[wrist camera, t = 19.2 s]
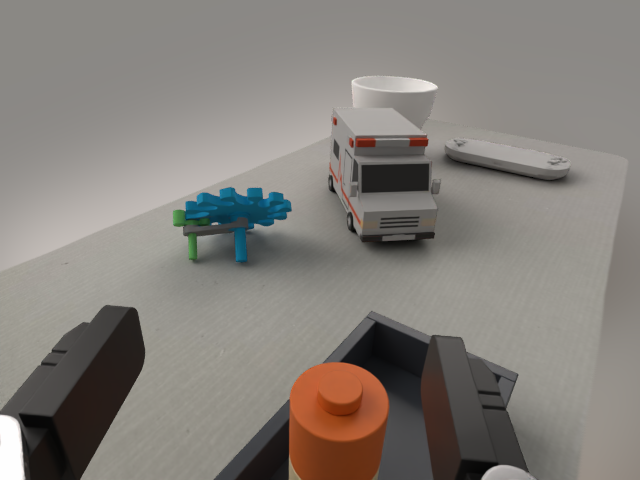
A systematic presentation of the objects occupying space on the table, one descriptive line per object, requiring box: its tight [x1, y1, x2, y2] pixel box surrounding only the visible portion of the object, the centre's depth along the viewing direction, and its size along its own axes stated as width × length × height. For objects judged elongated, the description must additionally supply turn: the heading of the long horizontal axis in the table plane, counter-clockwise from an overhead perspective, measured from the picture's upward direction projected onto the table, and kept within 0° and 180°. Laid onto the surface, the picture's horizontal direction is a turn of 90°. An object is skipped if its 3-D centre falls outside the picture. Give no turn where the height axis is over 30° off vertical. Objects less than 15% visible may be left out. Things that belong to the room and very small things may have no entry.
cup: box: [352, 76, 438, 130], centre depth 67 cm, size 12×12×11 cm
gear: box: [173, 187, 292, 262], centre depth 42 cm, size 11×6×10 cm
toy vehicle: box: [329, 108, 441, 242], centre depth 50 cm, size 10×17×10 cm, turn 10°
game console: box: [445, 138, 571, 180], centre depth 68 cm, size 18×2×8 cm
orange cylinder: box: [289, 362, 389, 480], centre depth 18 cm, size 4×4×10 cm
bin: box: [214, 311, 518, 480], centre depth 23 cm, size 16×10×4 cm, turn 146°
